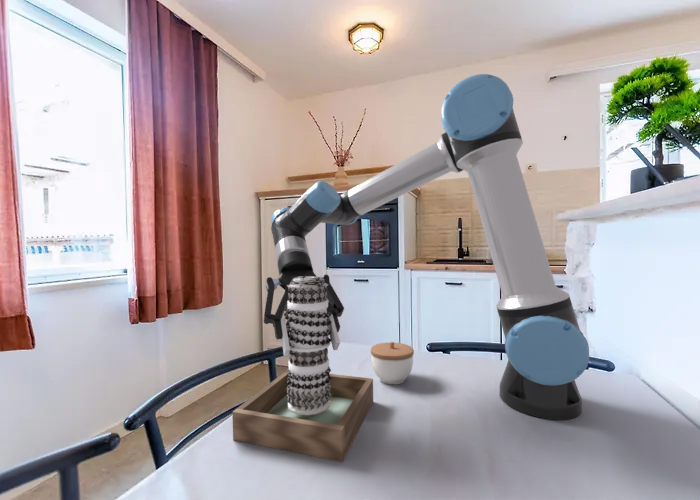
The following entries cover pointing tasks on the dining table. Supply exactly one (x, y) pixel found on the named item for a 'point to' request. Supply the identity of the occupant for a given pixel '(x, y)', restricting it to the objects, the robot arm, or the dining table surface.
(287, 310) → the decorative candle
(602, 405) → the dining table surface
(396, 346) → the lidded jar
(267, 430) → the wooden drawer box
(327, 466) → the dining table surface
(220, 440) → the dining table surface
